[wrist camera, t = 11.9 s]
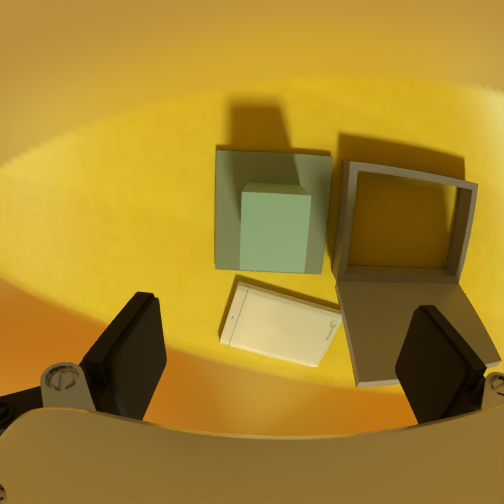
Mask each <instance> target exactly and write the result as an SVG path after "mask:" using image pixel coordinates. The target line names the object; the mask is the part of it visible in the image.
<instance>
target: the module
mask: <svg viewBox="0 0 504 504" xmlns="http://www.w3.org/2000/svg"><path fill="white" fill-rule="evenodd" d="M310 206H311V195H310V194H309V193H308V192H307V191H306V190H305V189H304V188H303V187H302V186H301V185H291V184H273V183H252V182H247V184H246V186H245V187H244V189H243V191H242V200H241V235H240V270H253V271H273V272H295V273H304V270H305V261H306V251H307V240H308V230H309V218H310Z"/></svg>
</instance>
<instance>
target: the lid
mask: <svg viewBox="0 0 504 504" xmlns="http://www.w3.org/2000/svg"><path fill="white" fill-rule="evenodd" d="M335 289H336V293H337V298H338V302H339V306H340V310H341V315H342V319H343V324H344V329H345V333H346V338H347V343H348V348H349V353H350V358H351V363H352V368H353V373H354V379H355V384H356V388H361V387H374V386H385V385H395V384H400V382H399V380H398V378H397V375H396V373H395V365H396V362H397V359H398V357H399V354H400V351H401V348H402V346H403V343H404V340H405V337H406V334H407V331H408V328H409V325H410V322H411V319H412V315H413V312H414V310H415V309H417V308H418V307H419V306H420V305H434V306H435V307H436V308H437V309H438V310H439V311H440V312H441V313H442V314H443V315H444V317H445V318H446V319H447V320H448V321H449V322H450V323H451V325H452V326H453V327H454V328H455V329H456V330H457V331H458V333H459V334H460V335H461V336H462V337H463V338H464V340H465V341H466V342H467V343H468V344H469V346H470V347H471V348H472V349H473V350H474V352H475V353H476V354H477V355H478V357H479V358H480V359H481V360H482V362H483V363H484V364H485V365H486V367H487V368H491V367H495V366H498V365H499V363H500V362H501V361H502V360H501V358H500V356H499V354H498V352H497V350H496V348H495V346H494V344H493V342H492V340H491V338H490V336H489V334H488V332H487V331H486V329H485V327H484V325H483V323H482V322H481V320H480V318H479V316H478V314H477V313H476V311H475V309H474V308H473V306H472V304H471V303H470V301H469V299H468V298H467V296H466V294H465V293H464V291H463V290H462V288H461V286H460V285H459V283H391V282H352V281H336V285H335Z"/></svg>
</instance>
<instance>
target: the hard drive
mask: <svg viewBox="0 0 504 504" xmlns="http://www.w3.org/2000/svg"><path fill="white" fill-rule="evenodd" d="M342 320H343V319H342V315H341V310H338V309H334V308H331V307H327V306H323V305H320V304H316V303H313V302H309V301H306V300H302V299H299V298H295V297H292V296H289V295H285V294H282V293H278V292H275V291H271V290H268V289H265V288H261V287H258V286H254V285H251V284H248V283H245V282H241V281H238V284H237V287H236V290H235V293H234V296H233V299H232V302H231V306H230V309H229V312H228V315H227V318H226V321H225V324H224V327H223V330H222V333H221V336H220V339H219V343H222V344H225V345H229V346H232V347H235V348H239V349H243V350H246V351H250V352H253V353H257V354H261V355H265V356H268V357H272V358H276V359H280V360H285V361H289V362H293V363H297V364H302V365H306V366H311V367H315V368H316V367H317V366H318V364H319V363H320V361H321V359H322V357H323V356H324V354H325V352H326V350H327V348H328V347H329V345H330V343H331V341H332V339H333V337H334V336H335V334H336V332H337V330H338V328H339V326H340V324H341V322H342Z"/></svg>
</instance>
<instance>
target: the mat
mask: <svg viewBox="0 0 504 504" xmlns="http://www.w3.org/2000/svg"><path fill="white" fill-rule="evenodd" d="M332 159H333V157H329V156H319V155H307V154H294V153H279V152H259V151H220V150H216V193H215V269H221V270H239V271H253V270H240V235H241V200H242V191H243V189H244V187H245V186H246V184H247V182H252V183H273V184H291V185H301V186H302V187H303V188H304V189H305V190H306V191H307V192H308V193H309V194H310V195H311V206H310V218H309V230H308V240H307V251H306V261H305V270H304V273H301V274H321V272H322V265H323V257H324V248H325V239H326V230H327V221H328V210H329V199H330V187H331V174H332ZM258 272H273V271H258ZM279 273H295V272H279Z"/></svg>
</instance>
